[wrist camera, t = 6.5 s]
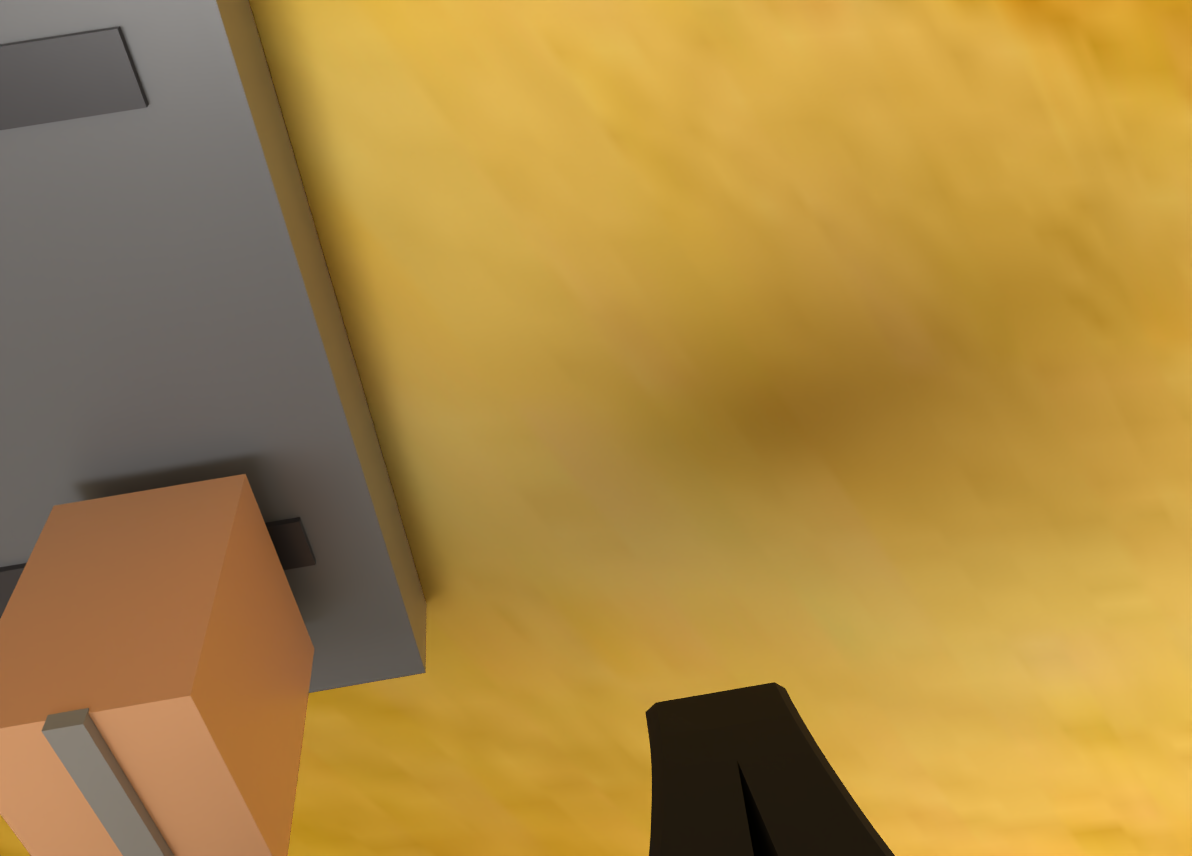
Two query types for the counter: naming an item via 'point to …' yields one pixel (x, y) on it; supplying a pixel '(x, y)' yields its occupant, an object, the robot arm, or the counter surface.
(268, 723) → the fader terracotta
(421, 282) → the counter surface
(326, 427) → the console
